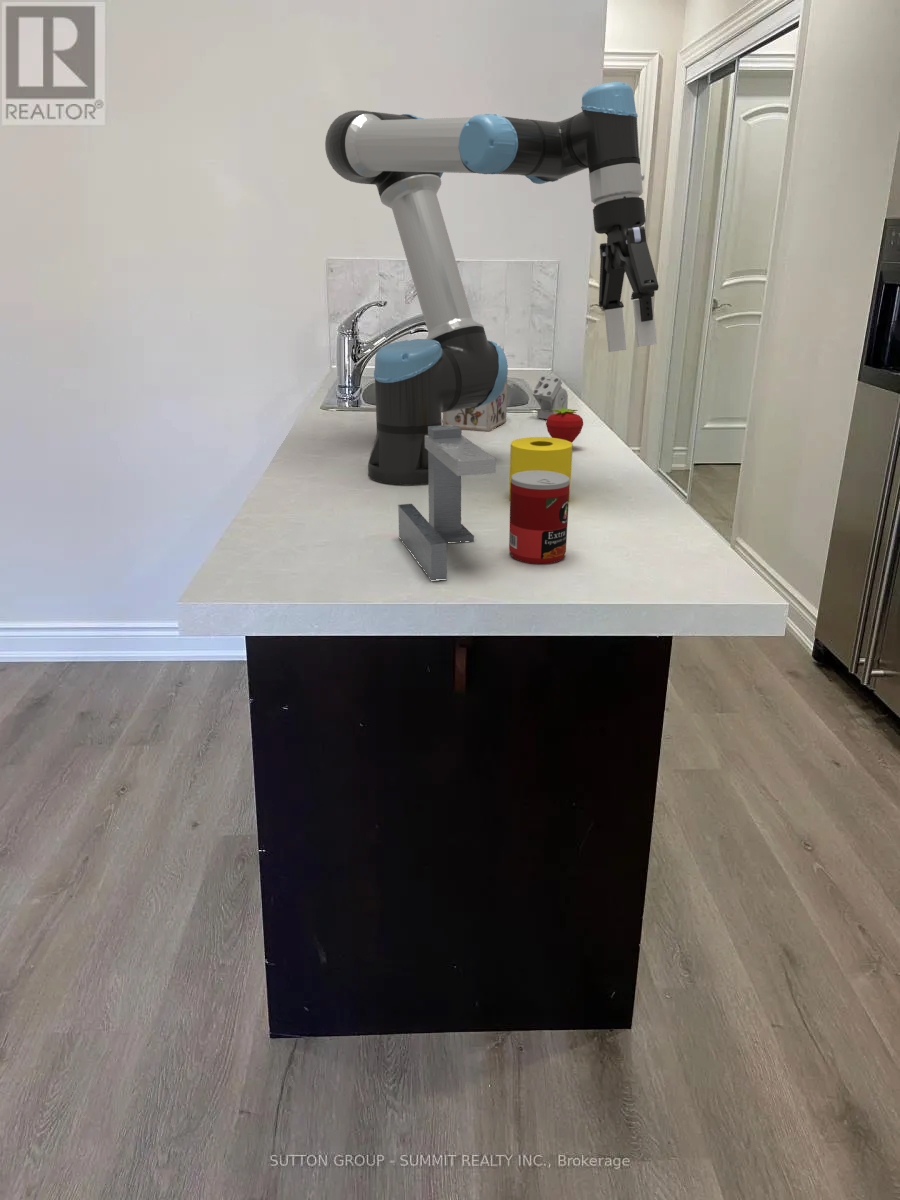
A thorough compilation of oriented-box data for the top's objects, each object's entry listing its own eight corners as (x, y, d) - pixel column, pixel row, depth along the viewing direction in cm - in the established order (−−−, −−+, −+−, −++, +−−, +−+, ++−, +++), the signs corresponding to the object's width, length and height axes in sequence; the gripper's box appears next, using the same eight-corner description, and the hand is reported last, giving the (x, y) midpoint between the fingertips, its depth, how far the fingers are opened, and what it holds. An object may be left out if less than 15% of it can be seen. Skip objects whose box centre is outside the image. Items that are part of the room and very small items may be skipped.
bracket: (462, 529, 135) (462, 422, 129) (506, 574, 117) (509, 452, 111) (396, 534, 133) (394, 425, 127) (431, 581, 115) (430, 457, 109)
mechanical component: (567, 418, 216) (569, 375, 212) (548, 423, 211) (550, 379, 207) (549, 415, 219) (551, 373, 215) (530, 420, 214) (531, 377, 210)
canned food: (551, 568, 119) (554, 487, 115) (498, 558, 123) (499, 479, 119) (575, 552, 125) (579, 475, 121) (524, 542, 129) (526, 467, 125)
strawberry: (582, 453, 182) (585, 403, 178) (544, 452, 182) (546, 402, 179) (581, 447, 187) (584, 398, 183) (544, 446, 188) (546, 397, 184)
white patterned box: (441, 428, 205) (441, 346, 199) (460, 419, 215) (461, 340, 208) (490, 432, 201) (492, 348, 194) (508, 422, 211) (510, 343, 204)
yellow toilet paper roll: (563, 510, 145) (566, 452, 141) (502, 505, 147) (504, 448, 144) (574, 494, 153) (577, 439, 150) (516, 489, 156) (518, 435, 153)
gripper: (673, 177, 122) (686, 339, 127) (615, 215, 147) (628, 349, 151) (620, 184, 122) (635, 346, 126) (570, 221, 146) (584, 356, 151)
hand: (631, 348), depth 139 cm, fingers open, 13 cm apart
